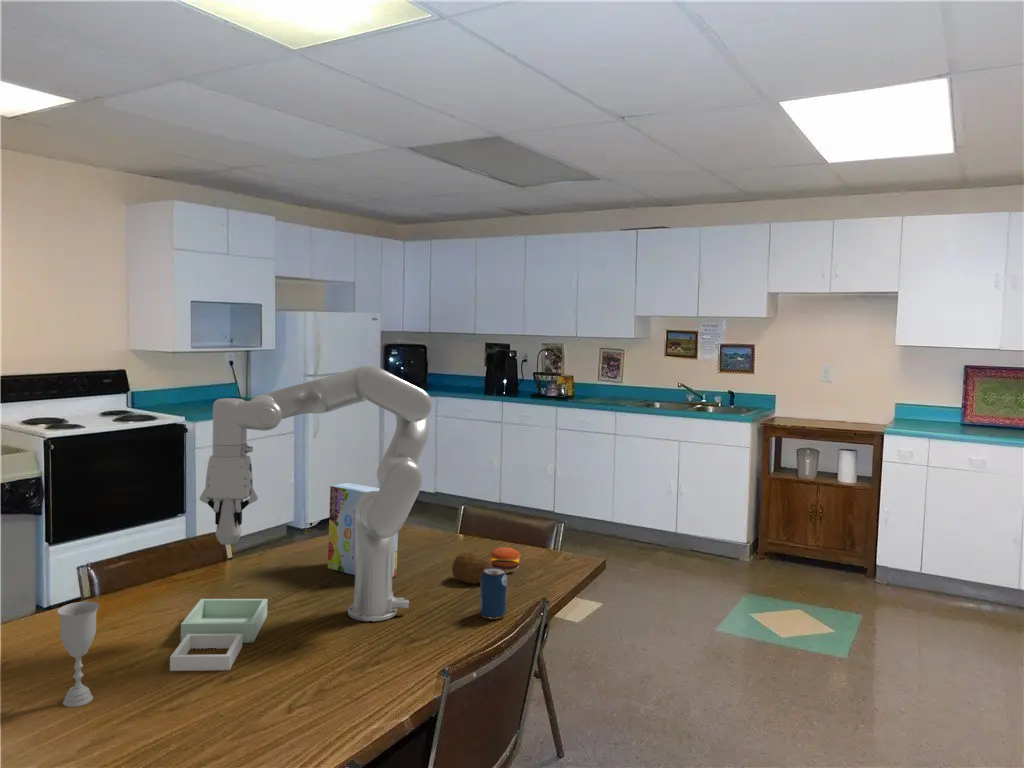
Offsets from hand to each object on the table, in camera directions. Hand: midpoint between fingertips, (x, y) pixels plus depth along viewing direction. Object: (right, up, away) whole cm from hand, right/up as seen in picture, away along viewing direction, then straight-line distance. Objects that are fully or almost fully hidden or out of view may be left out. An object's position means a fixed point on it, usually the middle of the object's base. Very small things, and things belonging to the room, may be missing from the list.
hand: (228, 526), depth 178 cm
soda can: (+62, -27, +18) cm, 70 cm away
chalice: (-16, -27, -34) cm, 46 cm away
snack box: (+22, -23, +48) cm, 58 cm away
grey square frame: (+1, -26, -14) cm, 30 cm away
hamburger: (+65, -24, +58) cm, 90 cm away
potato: (+55, -25, +43) cm, 74 cm away
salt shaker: (0, -4, 0) cm, 4 cm away
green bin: (-1, -25, +2) cm, 25 cm away
